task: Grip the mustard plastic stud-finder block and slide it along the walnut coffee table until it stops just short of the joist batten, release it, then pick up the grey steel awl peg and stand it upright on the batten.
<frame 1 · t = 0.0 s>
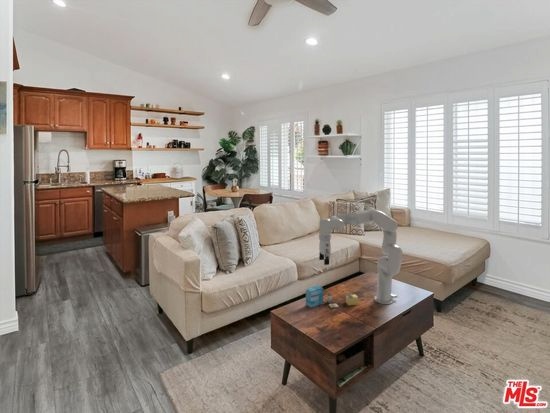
hand: (324, 262, 224), 31 cm above the table, fingers open, 9 cm apart
data package: (314, 305, 231), on the table
joist batten: (333, 306, 228), on the table
stud finder: (351, 303, 233), on the table
awl peg: (329, 302, 235), on the table
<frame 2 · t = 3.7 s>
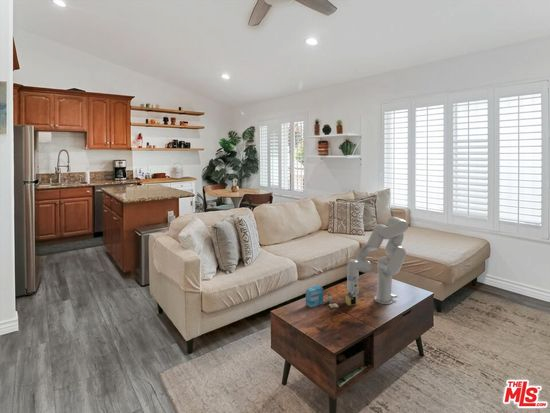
hand: (351, 302, 233), 1 cm above the table, fingers closed on stud finder, 4 cm apart
stud finder: (351, 303, 233), on the table, touching gripper
everything else where it was.
when the fingers open (1 cm above the table, at t = 5.6 s): stud finder stays where it is, on the table.
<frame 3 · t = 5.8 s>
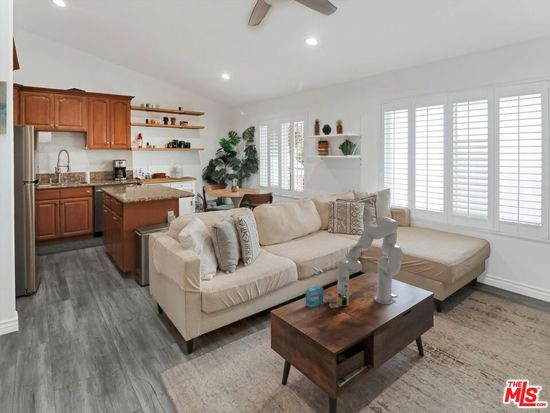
hand: (342, 302, 232), 1 cm above the table, fingers open, 6 cm apart
stud finder: (342, 304, 232), on the table
everything else where it was.
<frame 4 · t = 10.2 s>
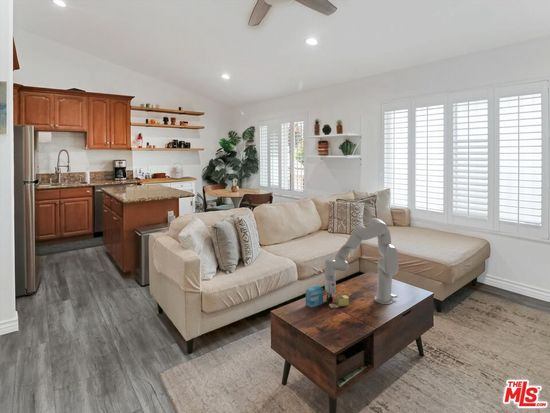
hand: (329, 301, 235), 1 cm above the table, fingers closed on awl peg, 2 cm apart
awl peg: (329, 302, 235), on the table, touching gripper
everything else where it was.
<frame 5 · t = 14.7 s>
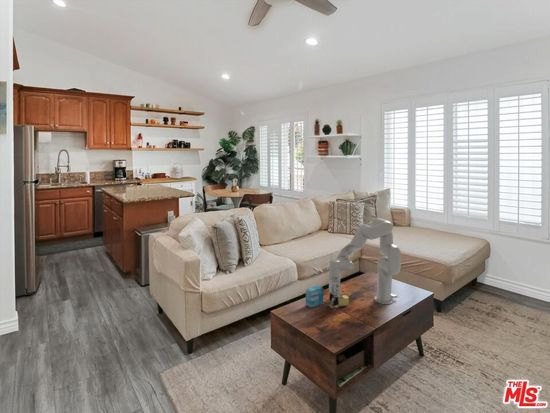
hand: (333, 302, 228), 3 cm above the table, fingers open, 6 cm apart
awl peg: (333, 305, 228), point 1 cm above the table, touching joist batten
everything else where it was.
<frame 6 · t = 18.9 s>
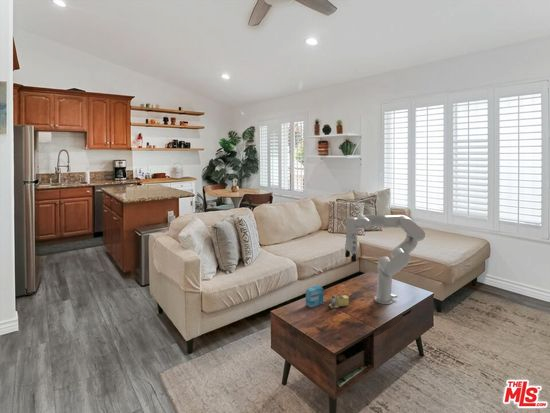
hand: (350, 259, 233), 30 cm above the table, fingers open, 9 cm apart
nothing on the table moved.
at the end: stud finder inside the target area (0.4 cm from its centre), on the table; awl peg 0.1 cm off-centre on the joist batten, point 1.1 cm above the joist batten's base; awl peg tilted 0° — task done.
